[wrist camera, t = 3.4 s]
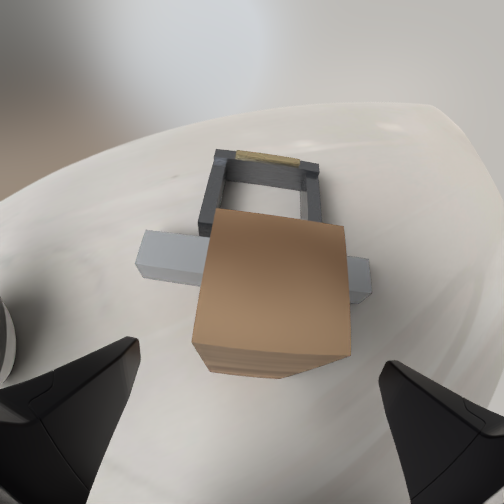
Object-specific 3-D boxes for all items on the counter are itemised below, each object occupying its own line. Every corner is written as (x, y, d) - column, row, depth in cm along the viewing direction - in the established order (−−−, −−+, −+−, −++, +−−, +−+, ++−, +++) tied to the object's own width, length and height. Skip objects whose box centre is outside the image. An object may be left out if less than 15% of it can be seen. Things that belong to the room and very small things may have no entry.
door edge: (358, 303, 22) (372, 292, 20) (143, 277, 21) (134, 263, 19) (356, 271, 23) (368, 258, 21) (152, 245, 23) (145, 229, 20)
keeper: (314, 253, 24) (326, 232, 21) (199, 238, 23) (197, 214, 20) (310, 184, 28) (319, 161, 25) (215, 171, 28) (216, 145, 25)
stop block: (279, 378, 18) (350, 355, 8) (210, 371, 18) (191, 341, 8) (283, 314, 21) (343, 226, 10) (218, 307, 21) (216, 207, 10)
